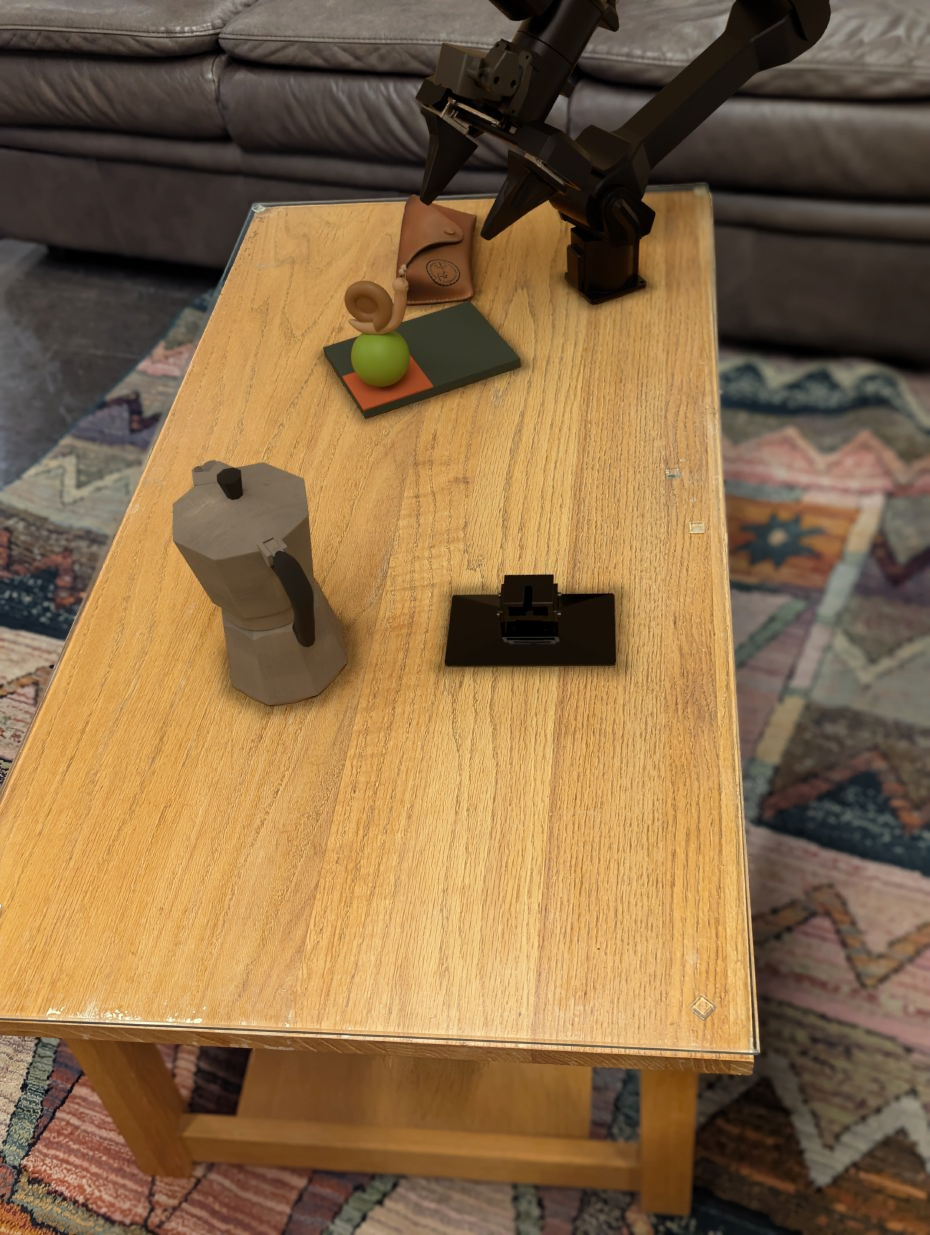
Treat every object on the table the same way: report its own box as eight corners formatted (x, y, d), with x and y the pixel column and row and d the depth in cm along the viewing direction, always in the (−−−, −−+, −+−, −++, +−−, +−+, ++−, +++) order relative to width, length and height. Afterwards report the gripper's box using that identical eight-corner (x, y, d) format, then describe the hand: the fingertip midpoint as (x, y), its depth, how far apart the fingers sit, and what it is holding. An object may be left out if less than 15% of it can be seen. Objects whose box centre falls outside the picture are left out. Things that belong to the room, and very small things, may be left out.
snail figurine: (414, 401, 99) (396, 283, 90) (348, 396, 101) (324, 280, 92) (430, 367, 103) (414, 250, 94) (366, 362, 104) (344, 247, 95)
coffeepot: (196, 635, 83) (120, 452, 70) (304, 581, 86) (250, 395, 73) (285, 768, 74) (217, 585, 61) (402, 702, 77) (361, 514, 64)
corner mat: (470, 309, 111) (469, 299, 110) (520, 366, 103) (520, 356, 102) (324, 355, 108) (322, 345, 107) (365, 419, 100) (363, 408, 99)
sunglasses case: (478, 295, 112) (439, 247, 108) (424, 330, 115) (385, 284, 111) (478, 212, 124) (443, 166, 120) (429, 246, 127) (393, 201, 123)
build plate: (444, 668, 79) (436, 625, 75) (453, 596, 84) (446, 553, 80) (616, 667, 77) (616, 623, 74) (614, 593, 82) (614, 549, 79)
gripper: (419, -27, 91) (333, 146, 95) (561, 24, 80) (456, 218, 84) (499, 44, 100) (417, 201, 104) (638, 99, 89) (539, 272, 93)
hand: (453, 220), depth 96 cm, fingers open, 9 cm apart
